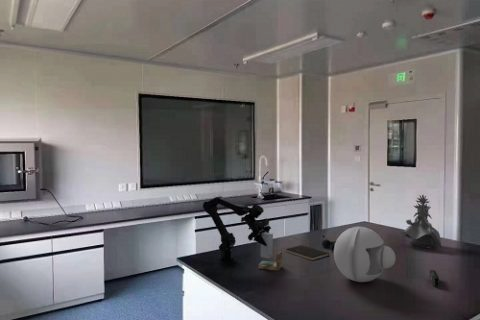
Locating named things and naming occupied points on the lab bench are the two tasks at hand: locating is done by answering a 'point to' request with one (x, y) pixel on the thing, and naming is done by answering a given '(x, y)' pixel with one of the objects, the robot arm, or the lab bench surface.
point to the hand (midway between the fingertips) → (268, 244)
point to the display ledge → (272, 263)
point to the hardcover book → (307, 252)
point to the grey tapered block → (267, 250)
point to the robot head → (362, 254)
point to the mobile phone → (434, 278)
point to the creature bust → (422, 227)
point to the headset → (328, 244)
